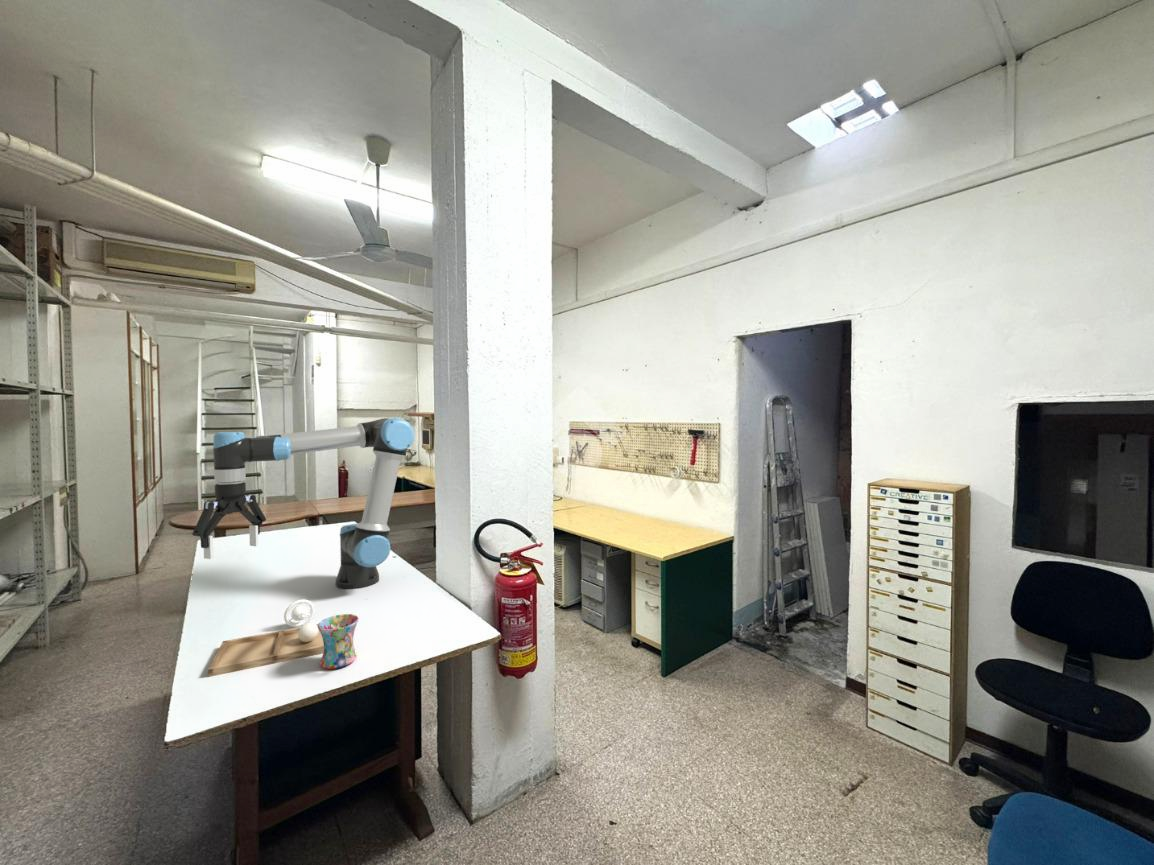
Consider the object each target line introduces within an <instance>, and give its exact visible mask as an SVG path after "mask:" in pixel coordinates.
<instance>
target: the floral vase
mask: <svg viewBox="0 0 1154 865" xmlns="http://www.w3.org/2000/svg"><path fill="white" fill-rule="evenodd" d="M358 622H359V617H358V616H357V615H356V614H352V613H351V614H350V613H342V614H335V615H332V616H330V617H326V618H324V619H322V620H321V621H320V622H318V623H317V624H318V629H319V631H320V633H321V635H322V638H323V643H324V652H323V654H322V657H321V659H320V661H319V665H320V666H321V667H322V668H323V669H329V670H331V669H333V670H335V669H339V668H342V667H346V666H348V665H351V664H352V663H353V662H354V661H355V660H356V659H357V657H358V653H357V651H356V649H355V646H354V645H355V644H354V637H355V636H354V635H355V630H356V627H357V624H358Z"/></svg>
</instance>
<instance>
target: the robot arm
mask: <svg viewBox="0 0 1154 865" xmlns="http://www.w3.org/2000/svg"><path fill="white" fill-rule="evenodd" d="M414 441H415V430H414V428H413V426H412V425H411V424H410V423H409V422H408V421H407V420H405V419H402V418H398V417H391V418H389V417H387V418H381V419H375V420H372V421H366V422H359V423H357V425H356V426H347V427H337V428H336V427H335V428H327V429H318V430H308V431H307V430H306V431H299V432H298V431H297V432H289V433H280V434H271V435H258V436H256V437H246V436H245V433H244V431H219V432H216V433H215V434H214V435H213V443H212V444H213V447H212V450H213V451H212V452H213V469H214V470H213V471H214V472H213V476H214V483H216V484H215V485H214V495H215V501H204V503H203V511H202V512H201V515H200V516H199V517H198V518H199V519H198V521H197V523H196V525H195V527H194V530H193V531H192V532H191V534H192V536H194V537H199V538H200V548H201V549H203V559H207V560H212V559H214V540H213V539H214V538H213V535H211V534H212V533H213V531H214V530H215V529H216V527H218V524H219V523H220V521H221V520H222V519H223V518H224V517H226V515H231V514H233V513H240V515H242V516H243V517H244V518H245V519H246V520H247V521H248V522H249V523H250V524H251V525H249V526H248V530H249V532H248V534H249V546H250V547H258V546H259V535H260V534H261V528H260V527H261V525H263V524H264V522H266V520H267V518H266V516H265V514H264V512H263V511H262V509H261V508H260V506H259V504H258V502H257V499H256V495H255V494H247V488H246V487H247V485H246V482H245V481H246V479H247V478H246V477H247V476H246V475H247V474H246V463H252V462H271V461H272V462H273V461H274V462H275V461H276V462H279V461H285V460H289V459H290V457H291V455H298V454H307V453H314V452H320V451H321V452H322V451H330V450H336V449H345V448H352V447H353V448H354V447H360V448H362V449H364V448H372V452H373V454H374V455H375V459H374V464H373V469H372V473H371V478H370V482H369V487H368V492H367V494H366V495H367V496H366V500H365V504H364V509H363V514H362V518H361V521H360V522H359V523H357V522H356V523H349V524H346V525H343V526H341V528H340V529H339V530H340V531H339V539H340V540H339V542H340V543H339V544H340V548H339V549H340V550H339V552H340V565H339V566H340V567H339V570H338V572H337V576H336V578H335V587H336V588H337V589H340V590H357V589H364V588H368V587H371V586H373V585H375V584H377V583H378V582H380V573H379V571H378V568H377V566H380V565H381V564H383V562H385V561H386V560H387V559H388V557H389V555H390V552H391V544H390V541H389V537H390V531H391V529H390V527H389V525H388V522H389V521H388V520H389V516H390V511H391V508H392V507H391V506H392V501H393V497H394V493H395V487H396V483H397V479H398V473H399V469H400V464H401V461H402V460H403V459H404V458H406V457H407V452H408V449H409V448H410V447H411V446H412V444H413V443H414ZM245 494H247V495H245ZM245 503H246V504H247V505H248V507H249V508H248V507H247V506H246V505H245ZM249 509H250V510H249ZM214 510H215V511H214Z"/></svg>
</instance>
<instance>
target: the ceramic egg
mask: <svg viewBox="0 0 1154 865" xmlns="http://www.w3.org/2000/svg"><path fill="white" fill-rule="evenodd" d="M299 627H300V629H299V631H298V637H299V639H300V640H301V641H303V642H310V641H312V640H314V639H315V638H316V637H317V635H318V632H319V629H318V626H317V625H316V623H314V622H307V623H306V624H304V625H302V626H299Z"/></svg>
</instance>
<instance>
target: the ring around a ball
mask: <svg viewBox="0 0 1154 865" xmlns="http://www.w3.org/2000/svg"><path fill="white" fill-rule="evenodd" d="M301 604H306V605H308V606H309V608H310V612H309V611H308V608H307V606H305V605H301ZM296 605H297V606H296ZM292 608H293V609H292ZM290 611H291V613H290ZM289 613H290V617H291V618H290V619H289ZM314 614H315V605H314V603H312V601H310V600H308V599H298V600H296V601H293V602H292V603H291V604H289V605H288V606H287V608H286V609H285V611H284V615H283V619H284V621H285V623H286V625H288V626H289V627H293V628H298V627H301V626H302V625H304V624H306V623H310V622H309V621H310V620H312V618H313V616H314ZM305 618H306V619H305ZM292 620H294V621H297V622H293V621H292ZM302 620H303V621H302ZM299 621H301V622H299Z"/></svg>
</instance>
